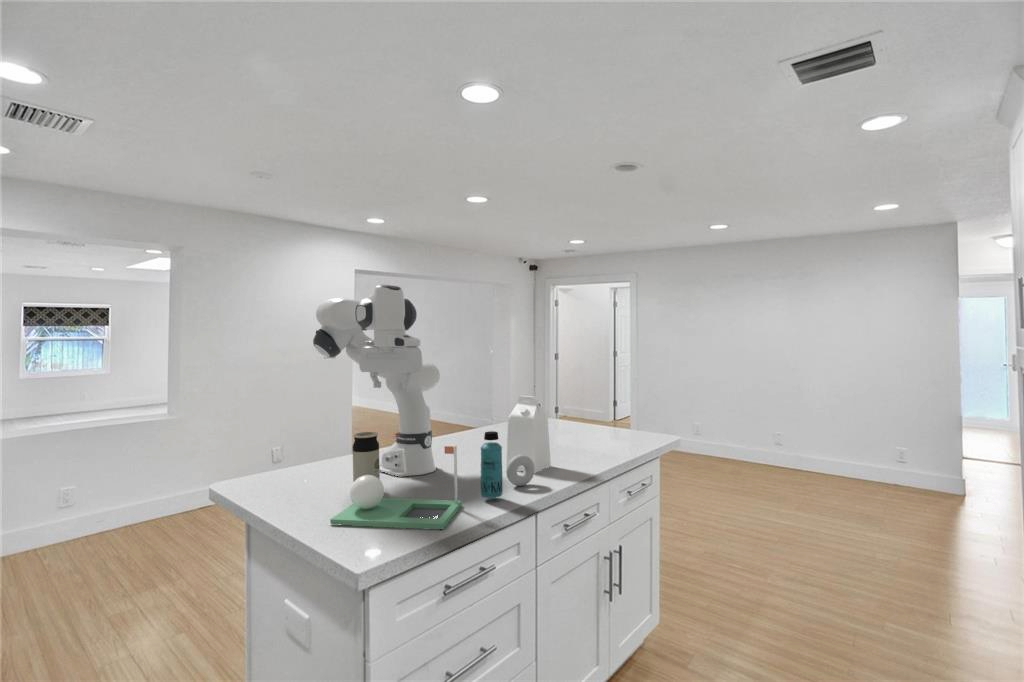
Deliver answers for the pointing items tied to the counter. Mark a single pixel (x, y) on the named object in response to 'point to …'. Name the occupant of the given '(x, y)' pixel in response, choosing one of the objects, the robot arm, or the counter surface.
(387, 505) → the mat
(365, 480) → the ball
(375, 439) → the travel mug
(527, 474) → the donut
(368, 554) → the counter surface
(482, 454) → the beverage bottle
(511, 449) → the milk
